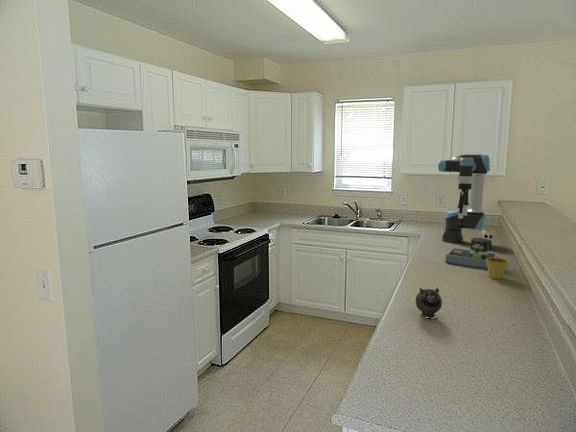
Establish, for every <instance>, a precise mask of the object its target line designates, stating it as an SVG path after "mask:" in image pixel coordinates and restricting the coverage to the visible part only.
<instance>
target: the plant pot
mask: <svg viewBox="0 0 576 432" xmlns="http://www.w3.org/2000/svg"><path fill="white" fill-rule="evenodd" d="M508 263H509V262H508V259H505V258H501V257H497V258H496V257H490V258H487V259H486V265H487V268H488V269H487V274H488V277H489V278H491V279H495V280H500V279H503V276H504V273H505V271H506V269H507V268H508V265H509V264H508Z"/></svg>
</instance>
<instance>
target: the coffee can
mask: <svg viewBox="0 0 576 432" xmlns="http://www.w3.org/2000/svg"><path fill="white" fill-rule="evenodd" d="M489 243H490V240H488V239H484V238H482V237H472V238H471V239H470V249H469V250H470V258H476V259H483V260H486V259H487V258H488V253H490V249H489Z"/></svg>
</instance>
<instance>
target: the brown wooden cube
mask: <svg viewBox="0 0 576 432" xmlns="http://www.w3.org/2000/svg"><path fill="white" fill-rule="evenodd" d="M453 255H454V256H462V257H463V251H458V250H454V251H453Z"/></svg>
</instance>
